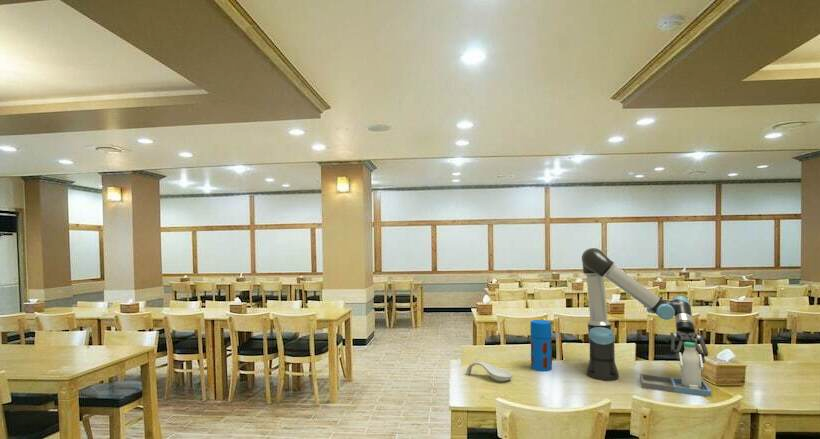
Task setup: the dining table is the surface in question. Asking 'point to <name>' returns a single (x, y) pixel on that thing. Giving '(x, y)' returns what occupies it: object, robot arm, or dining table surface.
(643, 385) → the bay frame
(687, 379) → the milk bottle
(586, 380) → the dining table surface
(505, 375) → the spoon rest
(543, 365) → the thermos
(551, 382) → the dining table surface
